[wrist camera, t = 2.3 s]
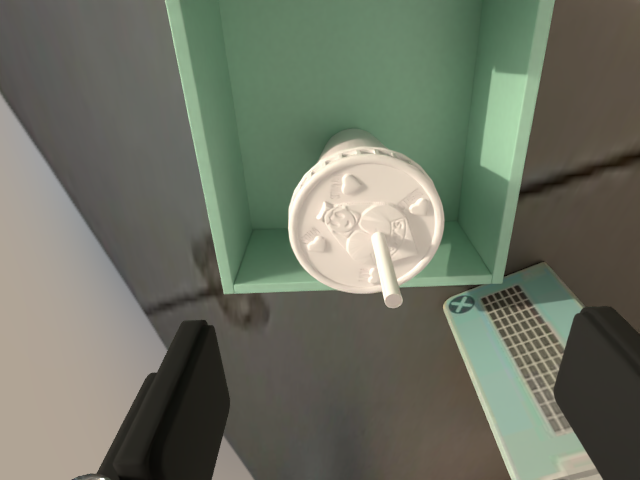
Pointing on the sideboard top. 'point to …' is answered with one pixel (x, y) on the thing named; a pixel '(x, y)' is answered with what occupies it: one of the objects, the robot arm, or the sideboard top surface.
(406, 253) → the smoothie
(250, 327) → the sideboard top surface
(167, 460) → the robot arm
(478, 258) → the mint green open crate
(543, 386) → the device
